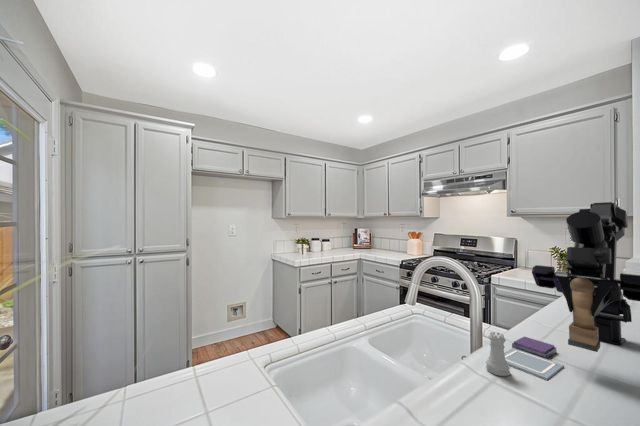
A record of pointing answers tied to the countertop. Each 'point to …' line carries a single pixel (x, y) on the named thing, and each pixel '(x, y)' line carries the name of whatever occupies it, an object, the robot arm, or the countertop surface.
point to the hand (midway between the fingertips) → (581, 313)
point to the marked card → (532, 363)
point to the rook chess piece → (497, 356)
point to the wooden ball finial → (583, 316)
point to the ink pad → (534, 347)
